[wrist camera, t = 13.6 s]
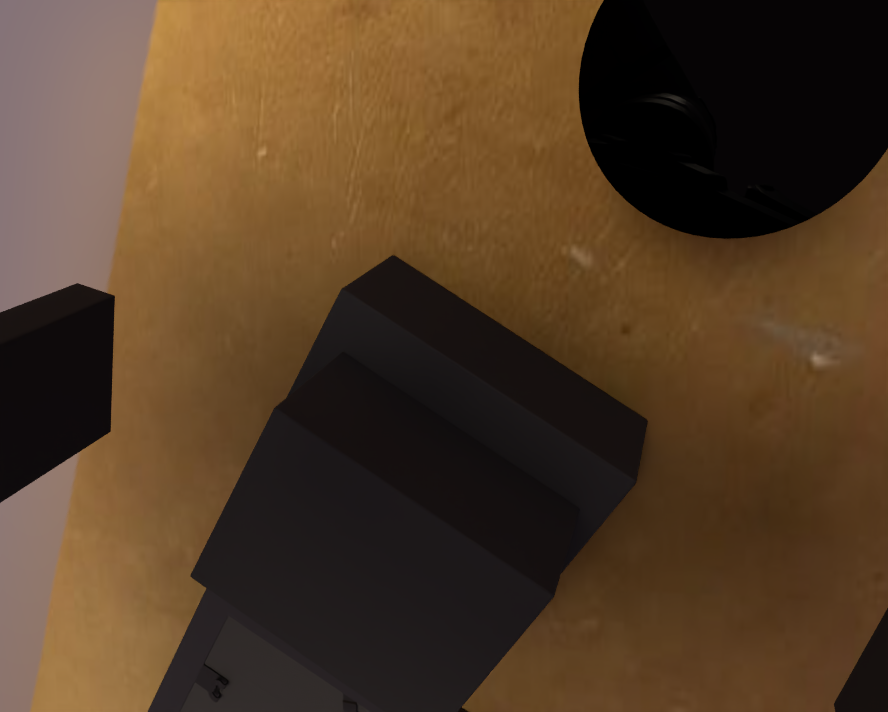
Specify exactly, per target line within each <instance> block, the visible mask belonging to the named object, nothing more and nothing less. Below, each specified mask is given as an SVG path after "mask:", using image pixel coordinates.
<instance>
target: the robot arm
mask: <svg viewBox="0 0 888 712" xmlns="http://www.w3.org/2000/svg"><path fill="white" fill-rule="evenodd" d="M114 305H115V296H114V295H111V294H108V293H105V292H102V291H99V290H96V289H93V288H90V287H87V286H84V285H81V284H78V283H77V284H74V285H71V286H69V287H66V288H64V289H61V290H58V291H56V292H53V293H51V294H48V295H45V296H43V297H40V298H37V299H35V300H32V301H29V302H27V303H24V304H22V305H19V306H16V307H14V308H11V309H8V310H6V311H3V312H1V313H0V503H1V502H2V501H4V500H5V499H7V498H8V497H10V496H11V495H13V494H15V493H16V492H18V491H19V490H21V489H22V488H24V487H25V486H27V485H28V484H30V483H32V482H33V481H35V480H36V479H38V478H39V477H40V476H42V475H44V474H46V473H47V472H49V471H50V470H52V469H53V468H55V467H56V466H58V465H59V464H61V463H62V462H64V461H65V460H67V459H69V458H70V457H72V456H73V455H75V454H77V453H78V452H80V451H81V450H83V449H84V448H86V447H87V446H89V445H90V444H92V443H94V442H95V441H97V440H98V439H100V438H101V437H103V436H104V435H106V434H108V433H109V432H111V400H112V368H113V336H114ZM834 707H835V712H888V608H887V610H886V612H885V614H884V616H883V617H882V619H881V621H880V623H879V624H878V626H877V628H876V630H875V632H874V633H873V635H872V637H871V639H870V641H869V642H868V644H867V646H866V648H865V649H864V651H863V653H862V655H861V657H860V658H859V660H858V662H857V664H856V665H855V667H854V669H853V671H852V673H851V674H850V676H849V678H848V680H847V681H846V683H845V685H844V687H843V689H842V690H841V692H840V694H839V696H838V698H837V699H836V701H835V703H834Z"/></svg>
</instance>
